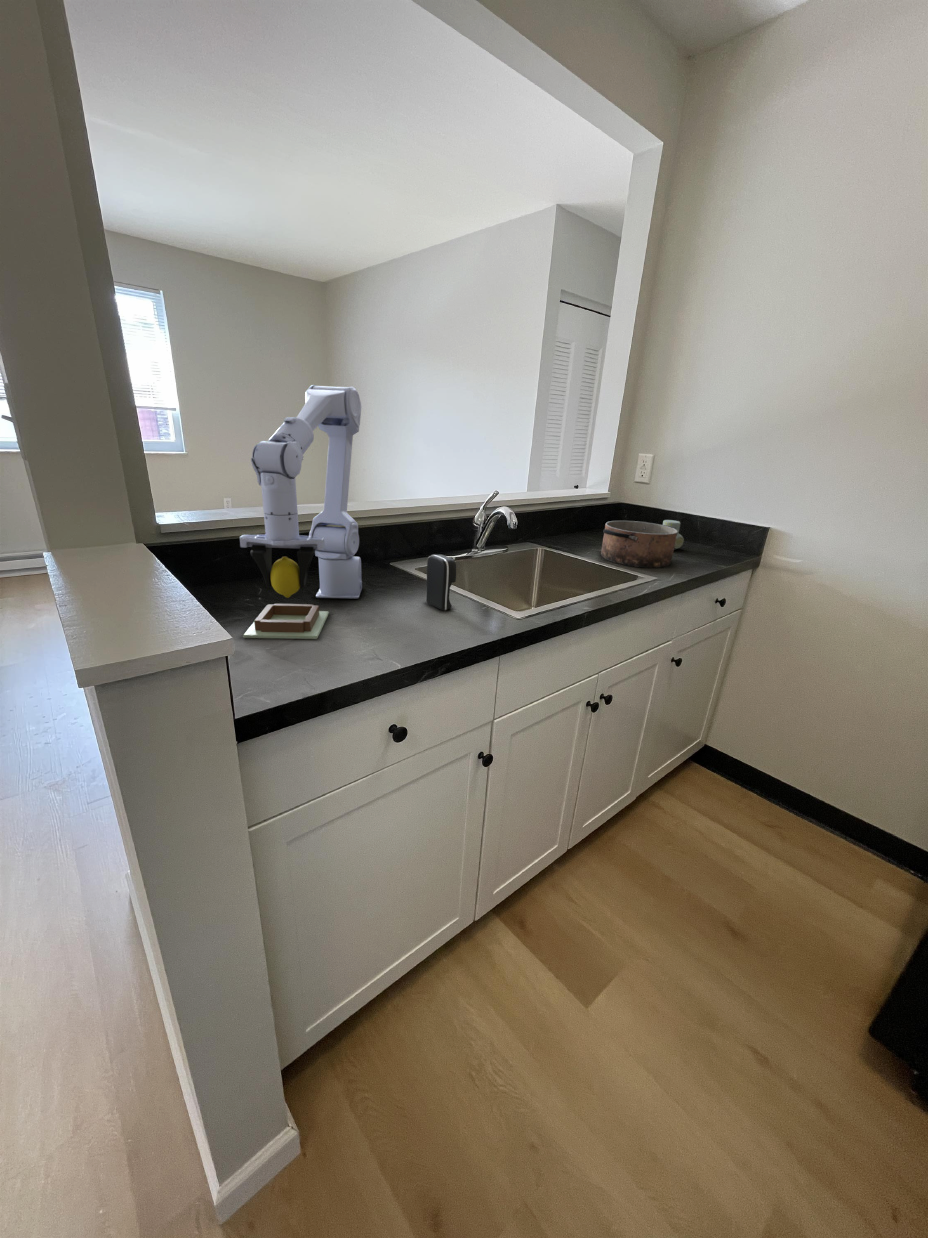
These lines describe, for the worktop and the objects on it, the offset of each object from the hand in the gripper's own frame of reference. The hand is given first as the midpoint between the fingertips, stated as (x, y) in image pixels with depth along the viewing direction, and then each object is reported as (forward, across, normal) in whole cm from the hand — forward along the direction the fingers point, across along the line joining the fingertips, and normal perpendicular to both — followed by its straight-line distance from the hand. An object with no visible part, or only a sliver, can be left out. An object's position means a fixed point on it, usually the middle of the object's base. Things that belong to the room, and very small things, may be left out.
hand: (286, 585), depth 93 cm
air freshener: (+8, +117, +82) cm, 143 cm away
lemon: (+3, 0, 0) cm, 3 cm away
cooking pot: (+8, +97, +63) cm, 116 cm away
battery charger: (+8, +30, +13) cm, 34 cm away
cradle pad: (+8, 0, 0) cm, 8 cm away
